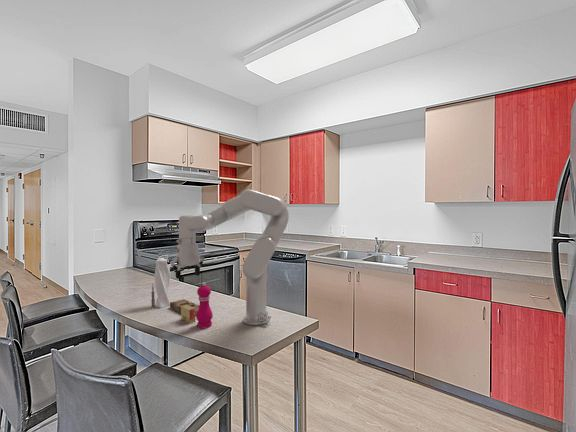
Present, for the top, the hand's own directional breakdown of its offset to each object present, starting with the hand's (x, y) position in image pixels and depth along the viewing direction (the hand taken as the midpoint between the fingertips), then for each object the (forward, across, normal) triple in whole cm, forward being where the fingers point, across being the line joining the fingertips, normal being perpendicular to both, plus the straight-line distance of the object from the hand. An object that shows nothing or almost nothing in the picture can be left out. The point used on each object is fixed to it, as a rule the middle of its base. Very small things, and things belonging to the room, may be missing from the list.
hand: (188, 276), depth 147 cm
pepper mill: (+21, +1, -12) cm, 24 cm away
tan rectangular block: (+21, -1, -1) cm, 21 cm away
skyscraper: (+21, 0, +30) cm, 37 cm away
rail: (+21, +6, +12) cm, 25 cm away
